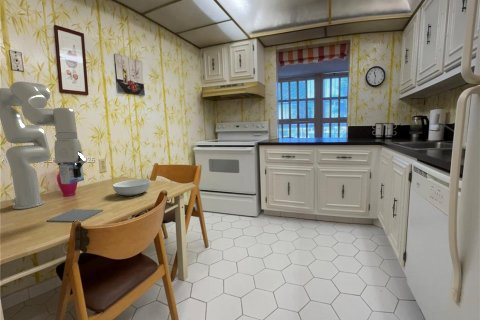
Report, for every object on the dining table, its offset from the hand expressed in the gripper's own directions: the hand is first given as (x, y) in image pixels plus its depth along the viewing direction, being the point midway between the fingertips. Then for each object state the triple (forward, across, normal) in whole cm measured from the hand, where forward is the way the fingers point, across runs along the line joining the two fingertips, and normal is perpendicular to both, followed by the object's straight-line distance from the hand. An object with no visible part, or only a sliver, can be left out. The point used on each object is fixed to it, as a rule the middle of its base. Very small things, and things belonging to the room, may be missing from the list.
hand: (72, 176), depth 106 cm
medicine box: (+3, 0, 0) cm, 3 cm away
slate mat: (+18, +1, -1) cm, 18 cm away
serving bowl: (+18, +6, +36) cm, 40 cm away
